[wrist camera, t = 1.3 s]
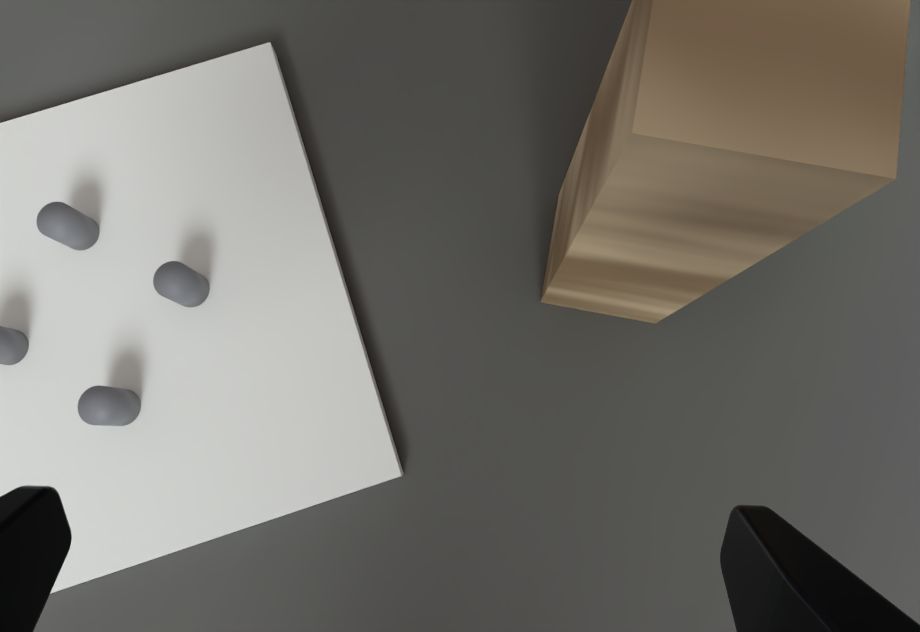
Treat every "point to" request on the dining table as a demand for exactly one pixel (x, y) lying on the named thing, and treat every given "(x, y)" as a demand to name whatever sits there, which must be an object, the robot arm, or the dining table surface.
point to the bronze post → (723, 145)
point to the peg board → (176, 317)
